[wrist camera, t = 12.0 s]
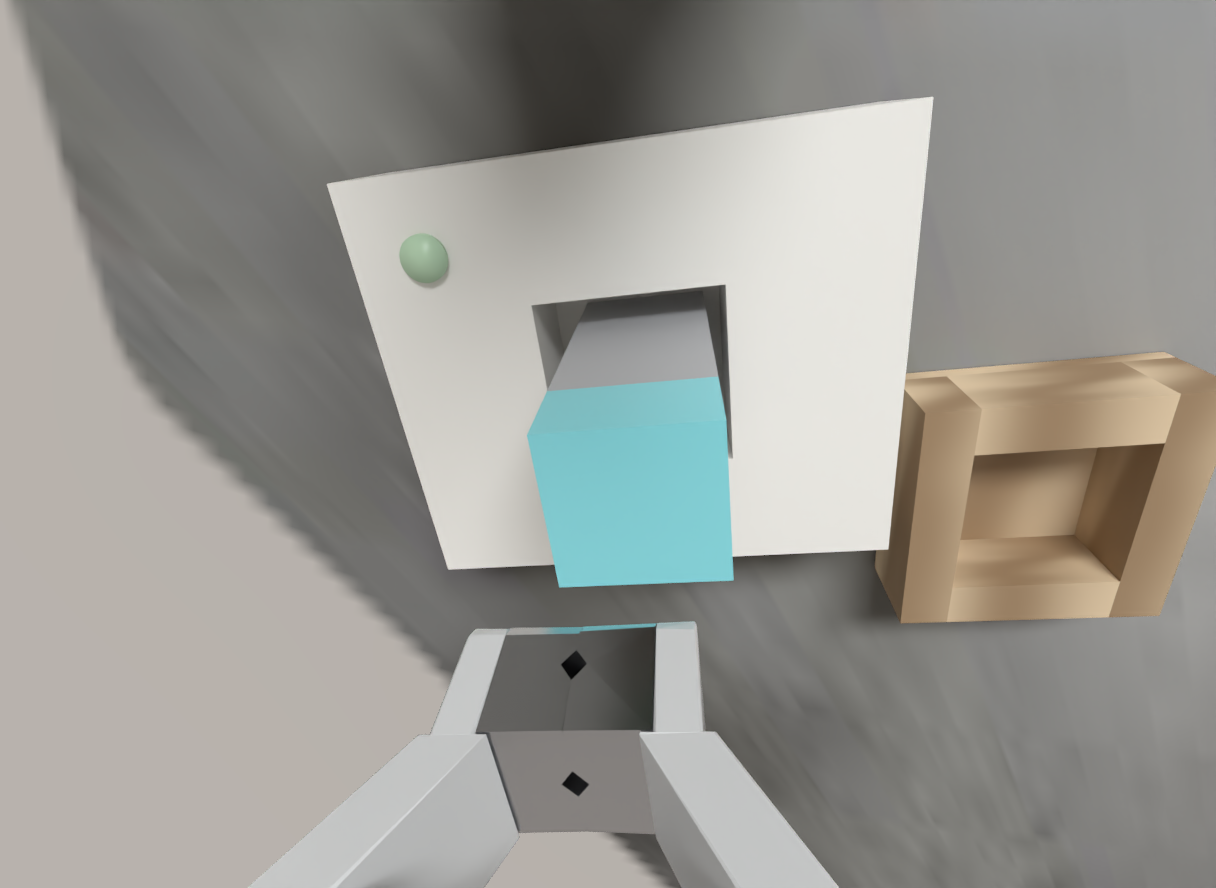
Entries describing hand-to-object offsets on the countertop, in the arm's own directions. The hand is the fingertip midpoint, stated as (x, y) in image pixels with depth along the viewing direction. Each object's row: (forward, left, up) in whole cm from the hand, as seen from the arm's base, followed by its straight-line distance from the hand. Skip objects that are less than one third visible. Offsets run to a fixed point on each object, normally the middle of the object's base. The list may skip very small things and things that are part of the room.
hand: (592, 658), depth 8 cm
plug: (0, 0, -13) cm, 13 cm away
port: (0, 0, -14) cm, 14 cm away
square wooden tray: (-12, +6, -14) cm, 19 cm away
